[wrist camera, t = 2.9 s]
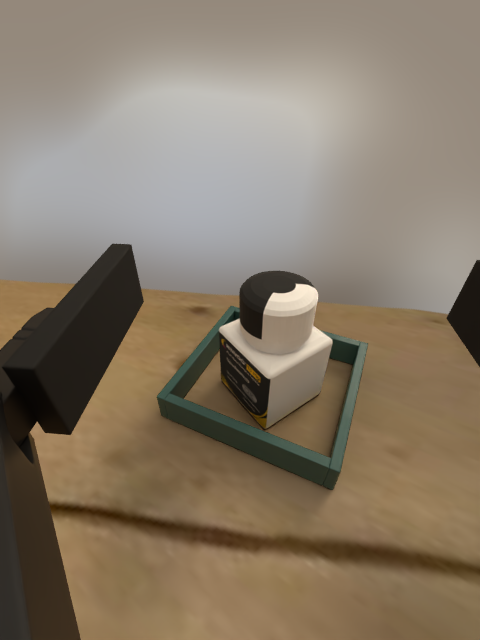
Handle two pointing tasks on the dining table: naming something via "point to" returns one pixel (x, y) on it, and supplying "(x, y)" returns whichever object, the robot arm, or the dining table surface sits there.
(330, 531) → the dining table surface
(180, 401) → the tray
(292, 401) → the medicine bottle
